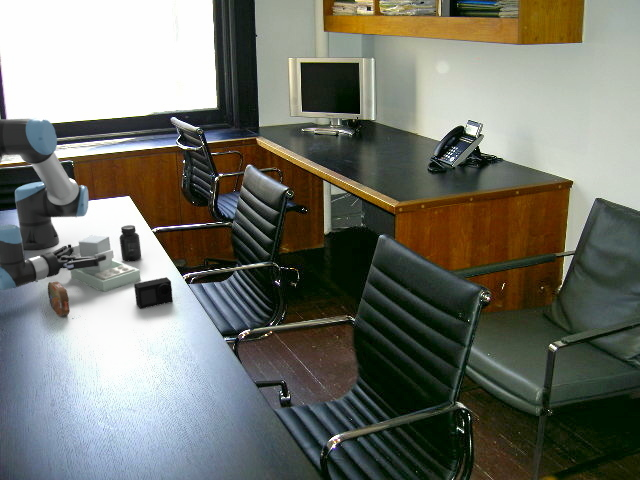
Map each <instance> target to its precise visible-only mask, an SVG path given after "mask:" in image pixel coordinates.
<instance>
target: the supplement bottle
mask: <svg viewBox="0 0 640 480" xmlns="http://www.w3.org/2000/svg"><path fill="white" fill-rule="evenodd" d="M120 232H121V234H120V236H119V244H120V254H121V260H122V261H124V262H126V263H127V262H129V263H132V262H136V261H139V260H141V258H142V250H141V241H140V236H139V234H138V233H137V232H136V226H135V225H131V224H129V225H128V224H127V225H124V226H121V231H120Z"/></svg>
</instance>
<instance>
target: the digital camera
mask: <svg viewBox="0 0 640 480" xmlns="http://www.w3.org/2000/svg"><path fill="white" fill-rule="evenodd" d="M133 287H134V293H135V303H136V306H137V307H138V308H139V309H140V310H141V309H142V310H143V309H147V308H151V306H152V307H155V305H156V306H160V304H161V305H164V303H165V304H170V303H172V302H173V301H174V300H173V287H172V281H171V280H170V279H169V278H168V277H161V278H156V279H151V280H146V281H142V282H137V283H134V285H133ZM169 302H170V303H169ZM146 307H147V308H146Z"/></svg>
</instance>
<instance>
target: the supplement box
mask: <svg viewBox="0 0 640 480" xmlns="http://www.w3.org/2000/svg"><path fill="white" fill-rule="evenodd" d="M110 242H111V241H110V236H106V235H93V234H91V235H89V236H86V237H85V238H83V239H82V240H79V241H78V245H79V247H80V253H79V254H80V257H88V256H94V255H96V254H99V253H102V252H106V251H109V250H112V249H111V244H110ZM112 259H113V258H112ZM112 259H109V260H105V261H102V262H99V265H98V266H93V267H86V268H82V269H83V272H85V273H87V274H89V275H92V276H94V277H95V274H97V273H100V272H102V271H106V270H109V269H111V268H113V265H112Z"/></svg>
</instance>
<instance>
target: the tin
mask: <svg viewBox="0 0 640 480" xmlns="http://www.w3.org/2000/svg"><path fill="white" fill-rule="evenodd" d="M47 284H48V285H47V296H48V297H47V298H48V302H49V305H50V307H51V309H52V310H53V311H54V312H55V314H56V315H57V316H58V317H64V316H68V315H70V302H69V300H70V298H69V294H68V291H67V289H66V288H65V287H64V285H63V284H62V283H60V282H59V281H53V282H52V281H51V282H48V283H47Z"/></svg>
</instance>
